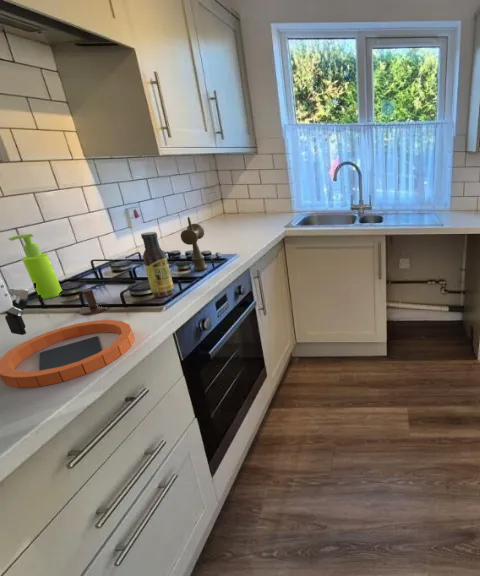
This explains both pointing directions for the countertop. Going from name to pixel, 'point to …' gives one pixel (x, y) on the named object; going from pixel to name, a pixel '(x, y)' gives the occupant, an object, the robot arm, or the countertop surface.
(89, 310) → the post
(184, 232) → the kendama
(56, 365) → the pad
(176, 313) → the countertop surface
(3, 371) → the ring
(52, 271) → the soap dispenser
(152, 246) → the sauce bottle
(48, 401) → the countertop surface
